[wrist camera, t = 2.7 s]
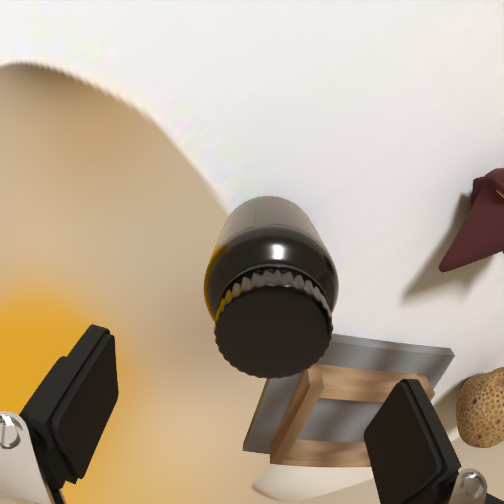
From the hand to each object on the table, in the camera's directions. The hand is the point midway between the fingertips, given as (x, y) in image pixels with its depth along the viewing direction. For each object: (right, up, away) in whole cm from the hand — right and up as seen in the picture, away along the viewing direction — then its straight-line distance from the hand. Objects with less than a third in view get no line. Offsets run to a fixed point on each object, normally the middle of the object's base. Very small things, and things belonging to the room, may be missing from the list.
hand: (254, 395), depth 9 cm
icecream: (+19, +9, +12) cm, 25 cm away
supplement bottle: (+1, +5, +14) cm, 15 cm away
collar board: (+10, -12, +20) cm, 25 cm away
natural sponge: (+26, -11, +19) cm, 34 cm away
